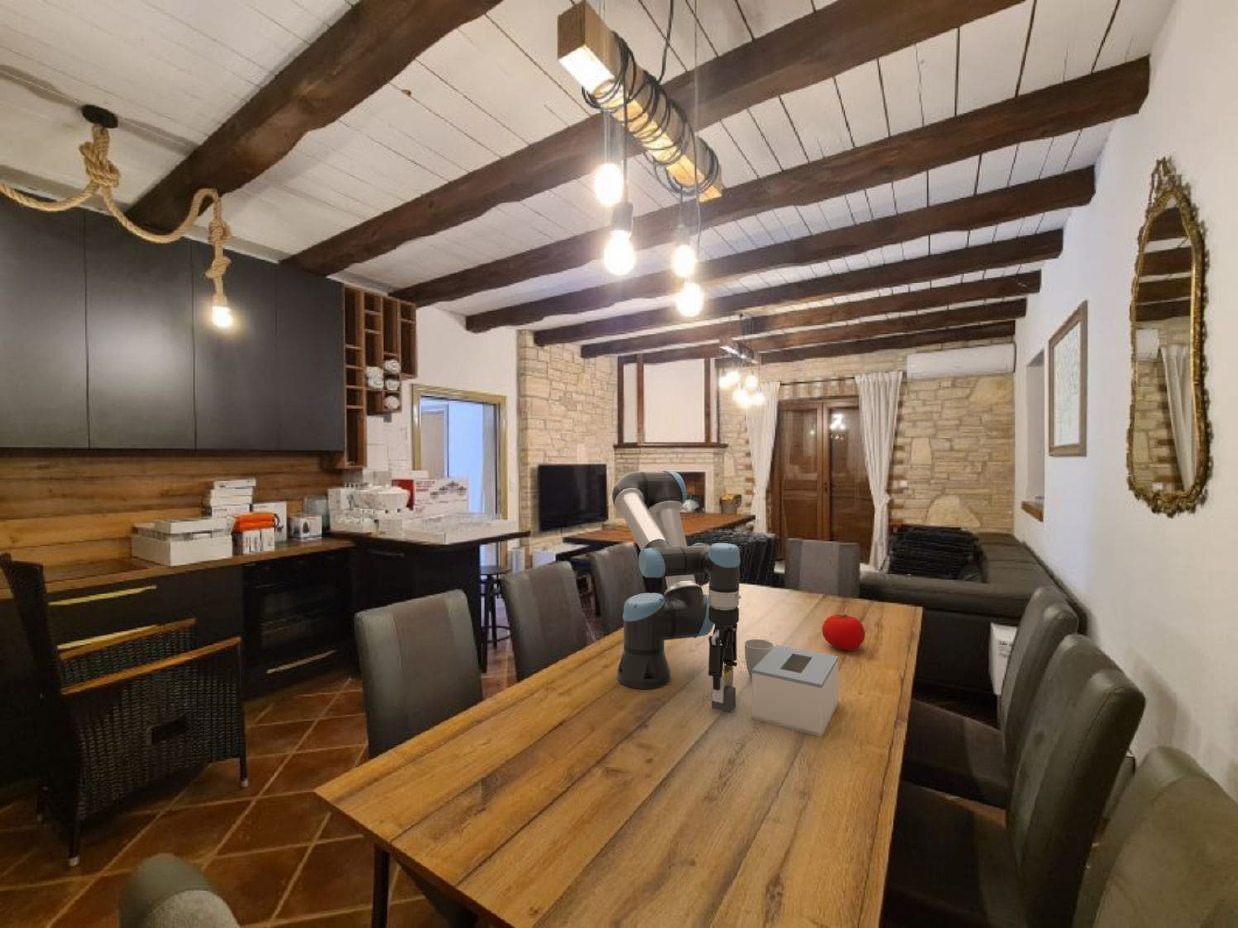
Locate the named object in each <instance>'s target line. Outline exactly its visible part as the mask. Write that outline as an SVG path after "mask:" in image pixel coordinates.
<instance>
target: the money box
mask: <svg viewBox="0 0 1238 928" xmlns="http://www.w3.org/2000/svg"><path fill="white" fill-rule="evenodd" d="M838 704H839V656H836V655H832V654H826V653H822V652H815V651H810V650H806V649H800V648H794V647H789V646H783V645H777V644H776V645H774V648H773V649H772V650H771V651H770V652H769V653H768V654H767V655H766V656H765V657H764V658H763V659H762V660H761V661H760V662H759V663H758V664H757V665H756V666H755V667H754V668H753V669H752V680H751V705H752V706H751V720H755V721H759V722H763V723H765V724H769V725H773V726H777V727H780V728H784V729H789V730H793V731H796V732H800V733H803V734H808V735H811V736H815V737H819V738H822V737H823V735H824V732H825V731H826V729H827V726H828V724H829V723H830V720H831V718H832V717H833V714H834V712H835V710H836V708H837V706H838Z"/></svg>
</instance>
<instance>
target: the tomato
mask: <svg viewBox="0 0 1238 928" xmlns="http://www.w3.org/2000/svg"><path fill="white" fill-rule="evenodd" d="M821 630H822V631H821V633H822V636H823V639H824V640H825V641H826V642H827V643H828V644H830V645H831V646H832V647H834V648H836V649H838V650H842V651H853V650H857V649H859V647H861V645H862V644H863V642H864V641H865V636H866V631H865V628H864V626H863V624H862V622H861V621H860V620H859V619H858V618H857V617H854V616H851V615H848V614H834V615H831V616H828V617H826V619H825V620H824V622H823V624H822V627H821Z"/></svg>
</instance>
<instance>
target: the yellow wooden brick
mask: <svg viewBox="0 0 1238 928" xmlns="http://www.w3.org/2000/svg"><path fill="white" fill-rule="evenodd" d="M724 665H725V664H723V672H722V676H724V688H725V686H726V685H727V684H728V683H729V682H730V681H731V680H732V679H733V680H734V666H732V667H729V666H724Z"/></svg>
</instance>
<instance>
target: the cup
mask: <svg viewBox="0 0 1238 928" xmlns="http://www.w3.org/2000/svg"><path fill="white" fill-rule="evenodd" d="M774 647H775V645H774V643H773V642H771V641H769V640H765V639H761V638H760V639H759V638H752V639H748V640H745V641H744V655H745V656H744V657H745V664H746V665H745V666H746V670H747V673H748V677H749V679H750V681H752V669H753V668H754V667H755V666H756V665H757V664H758V663H759V662H760V661H761V660H762V659H763V658H764V657H765V656H766V655H767V654H768V653H769V652H770V651H771V650H772V649H773V648H774Z"/></svg>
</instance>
